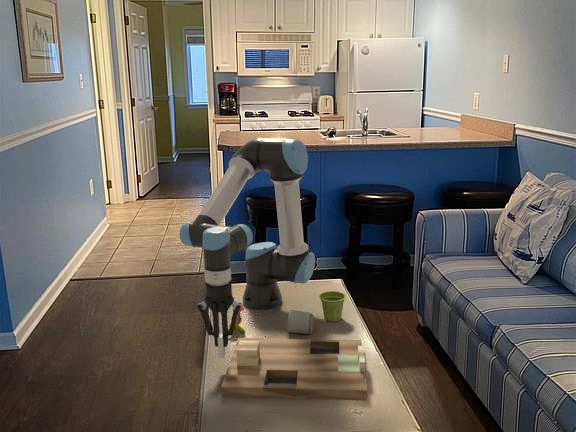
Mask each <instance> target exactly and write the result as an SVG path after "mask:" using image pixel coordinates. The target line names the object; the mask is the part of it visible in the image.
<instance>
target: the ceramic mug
mask: <svg viewBox="0 0 576 432" xmlns="http://www.w3.org/2000/svg"><path fill="white" fill-rule="evenodd" d="M314 322H315V317H314V314H313V313H311V312H308V311H302V310H295V309H290V310H289V312H288V317H287V322H286V323H287V325H286V329H287V333H291V334H293V333H294V334H302V335H303V334H304V335H310V334H312V332H313V330H314V324H315V323H314Z"/></svg>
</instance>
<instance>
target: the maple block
mask: <svg viewBox="0 0 576 432" xmlns="http://www.w3.org/2000/svg"><path fill="white" fill-rule="evenodd" d="M236 353H237V366H258V362H259V358H260V342H259V341H241V340H240V341H239V344H238V347H237V350H236Z"/></svg>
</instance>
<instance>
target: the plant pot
mask: <svg viewBox="0 0 576 432" xmlns="http://www.w3.org/2000/svg"><path fill="white" fill-rule="evenodd" d="M318 297H319V299H320V302H321V308H322V312H323V317H324V320H325V321H327V322H338V321H340V320H341V319H342V316H343V308H344V302H345V299H346V297H347V296H346V294H345V293H344V292H341V291H337V290H328V291H324V292H321V293H319V296H318Z"/></svg>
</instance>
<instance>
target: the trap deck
mask: <svg viewBox="0 0 576 432" xmlns="http://www.w3.org/2000/svg"><path fill="white" fill-rule="evenodd" d="M240 340H241V341H259V342H260V358H259V362H258V366H237V353H236V350H237V347H238V344H239V341H240ZM362 344H363V342H362V339H318V338H316V339H315V338H314V339H313V338H309V339H308V338H306V339H305V338H265V337H263V338H262V337H261V338H259V337H255V338H254V337H238V338H237V340H236V344H235V346H234V349H233V352H232V354H231V357H230V360H229V363H228V366H227V368H226V372H225V374H224V378H223V380H222V383H221V387H220V388H221V389H220V390H221V391H220V392H221V397H222V398H223V397H226V398H229V397H230V398H231V397H232V398H257V399H258V398H263V399H301V400H303V399H305V400H306V399H307V400H336V401H337V400H339V401H340V400H342V401H367V400H368V387H367V379H366V378H367V377H366V358H365V357H366V356H365V352H364V345H362Z"/></svg>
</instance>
